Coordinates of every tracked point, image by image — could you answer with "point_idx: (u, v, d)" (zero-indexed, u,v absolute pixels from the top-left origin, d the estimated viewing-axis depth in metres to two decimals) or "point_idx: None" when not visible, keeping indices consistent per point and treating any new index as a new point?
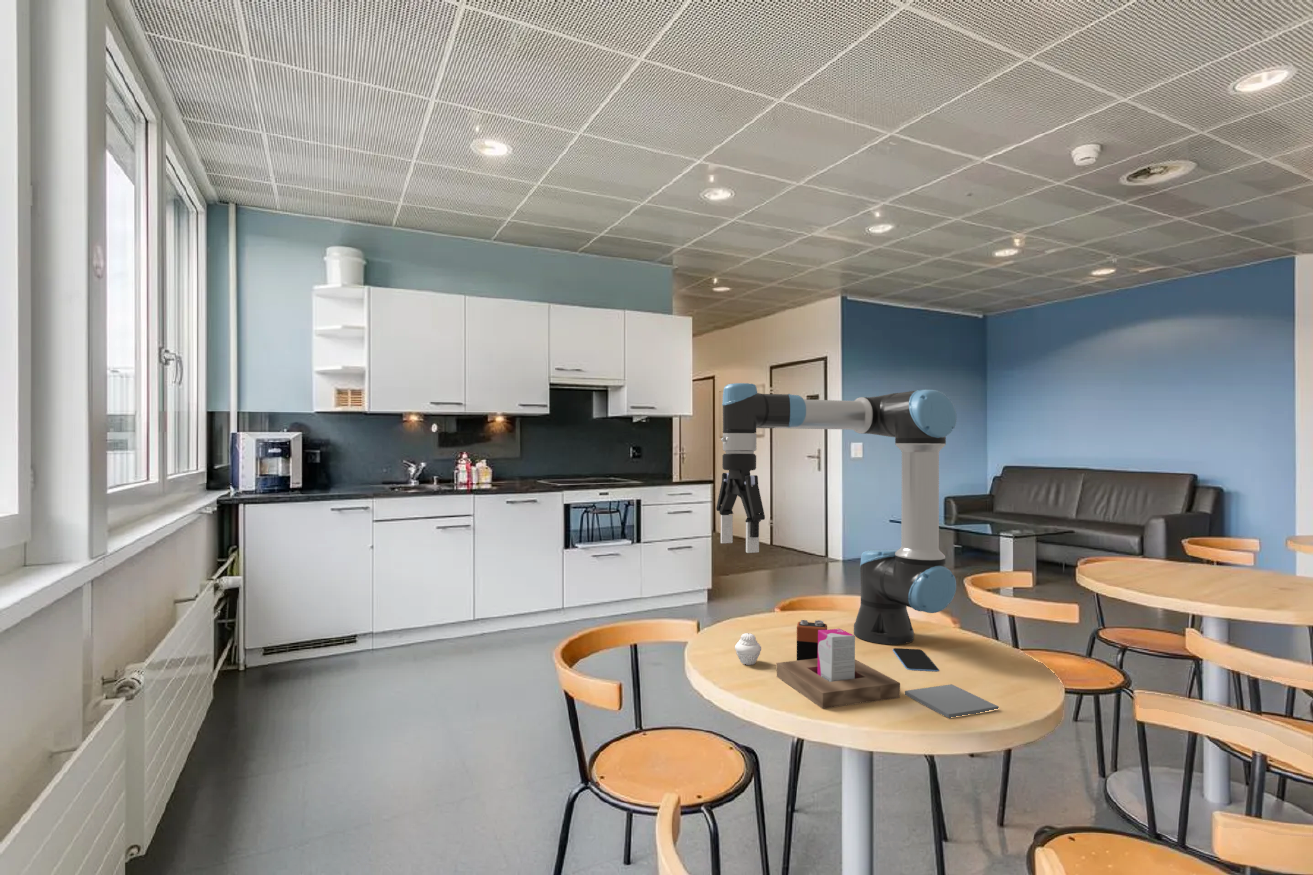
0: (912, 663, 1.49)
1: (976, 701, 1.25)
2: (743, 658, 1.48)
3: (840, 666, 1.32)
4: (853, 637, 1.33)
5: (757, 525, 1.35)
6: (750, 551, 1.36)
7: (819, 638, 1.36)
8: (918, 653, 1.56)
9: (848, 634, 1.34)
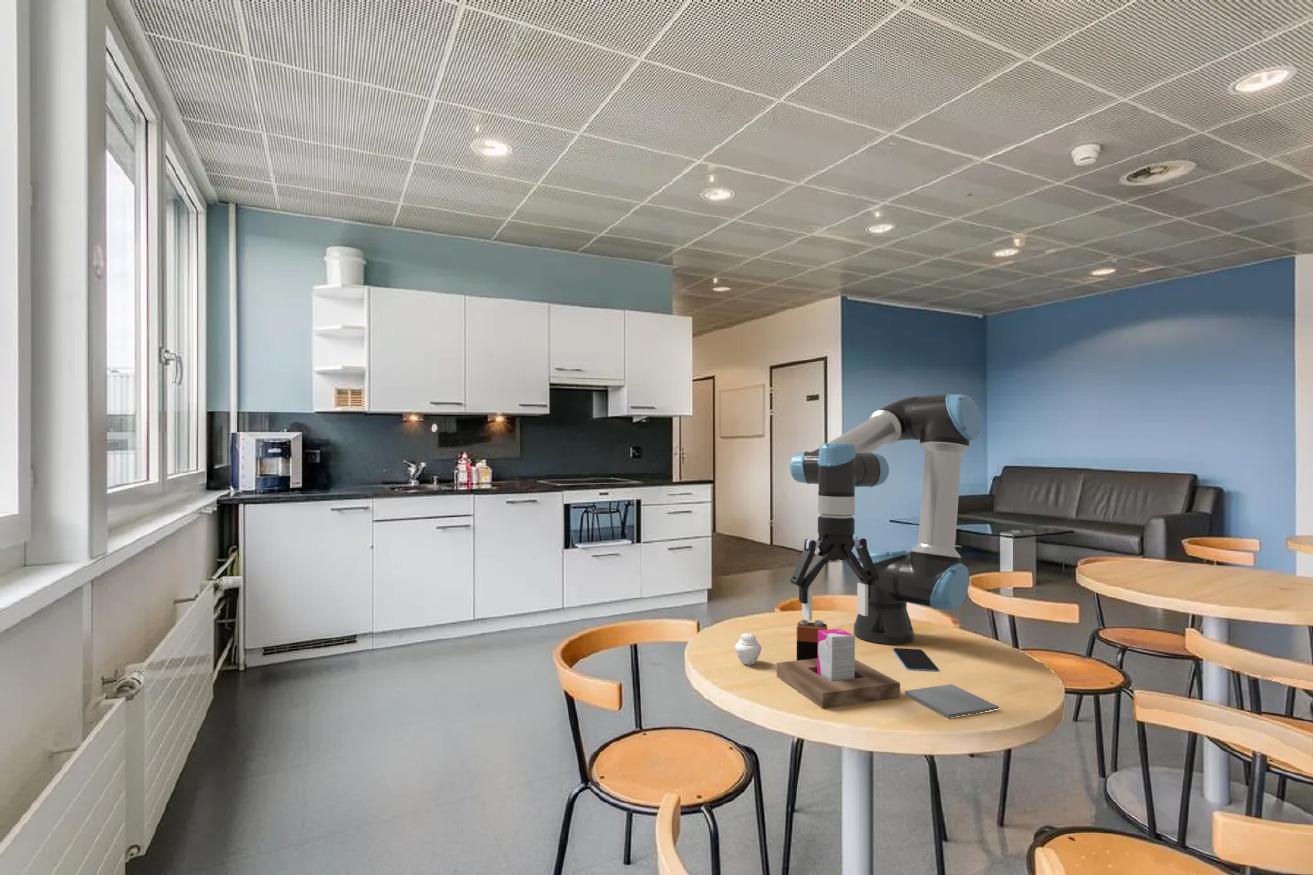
0: (912, 663, 1.49)
1: (976, 701, 1.25)
2: (743, 658, 1.48)
3: (840, 666, 1.32)
4: (853, 637, 1.33)
5: (801, 591, 1.32)
6: (803, 616, 1.33)
7: (819, 638, 1.36)
8: (918, 653, 1.56)
9: (848, 634, 1.34)
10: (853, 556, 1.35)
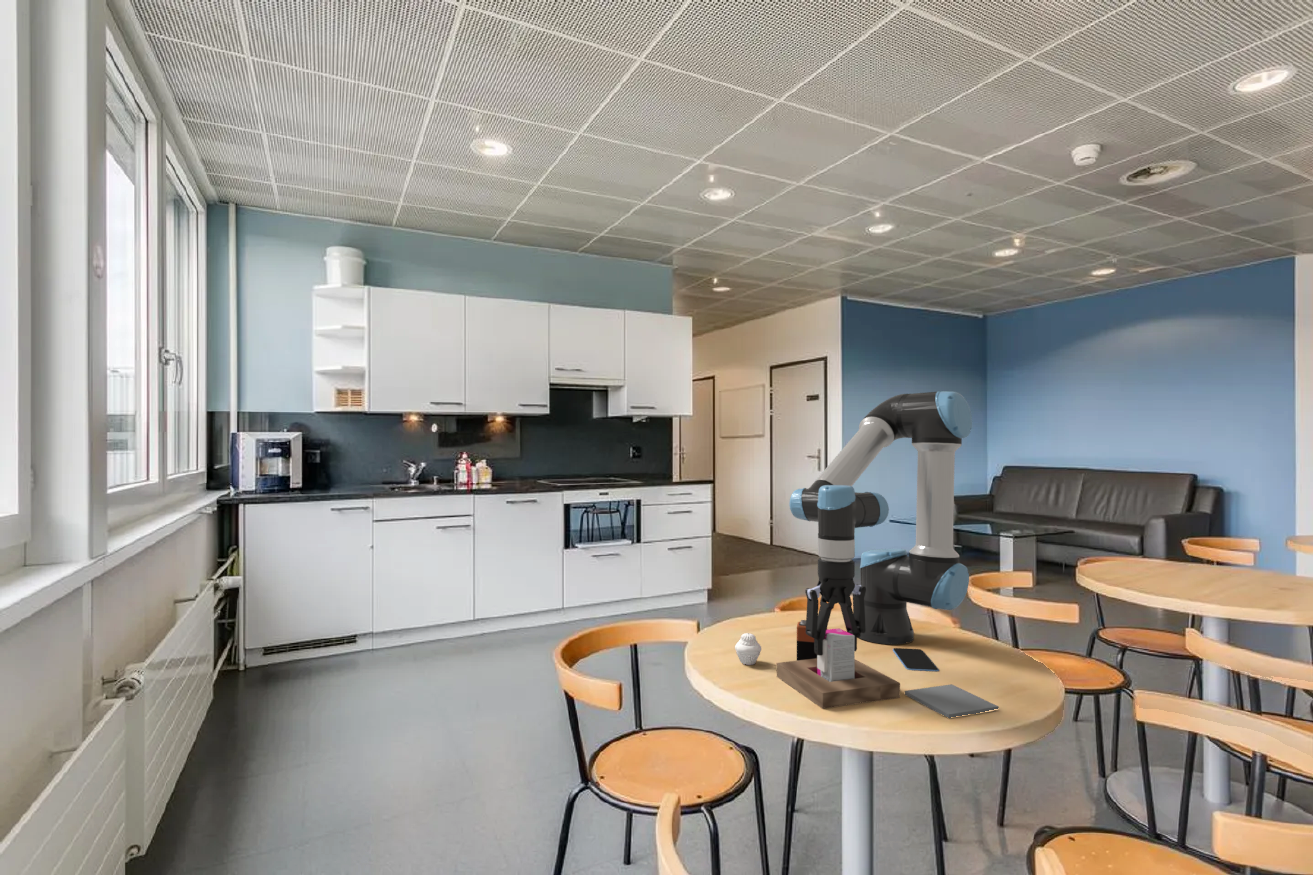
0: (912, 663, 1.49)
1: (976, 701, 1.25)
2: (743, 658, 1.48)
3: (840, 665, 1.32)
4: (853, 636, 1.33)
5: (817, 642, 1.33)
6: (819, 667, 1.34)
7: None
8: (918, 653, 1.56)
9: (848, 634, 1.34)
10: (849, 602, 1.34)
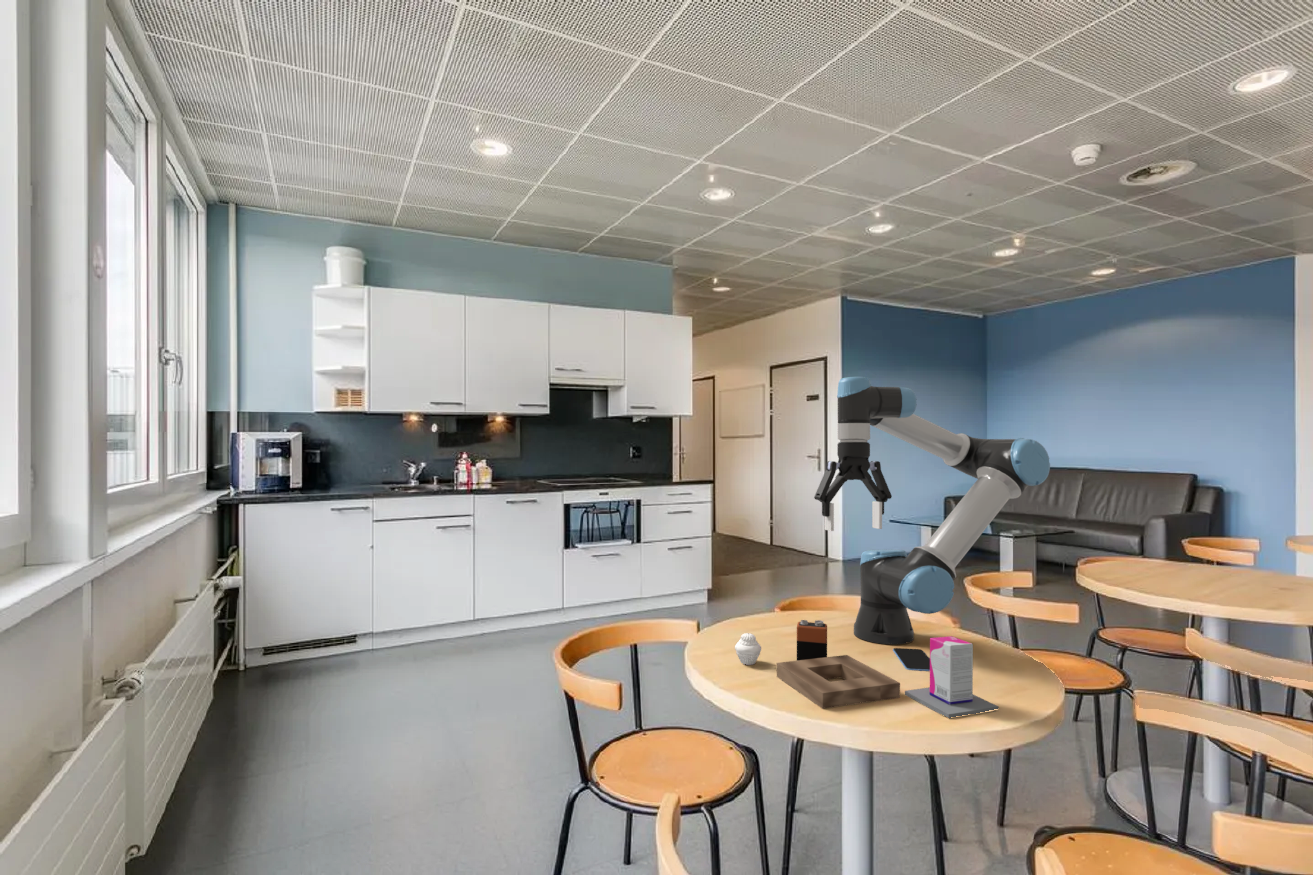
0: (912, 663, 1.49)
1: (976, 701, 1.25)
2: (743, 658, 1.48)
3: (958, 676, 1.24)
4: (971, 645, 1.25)
5: (824, 505, 1.51)
6: (826, 528, 1.53)
7: (932, 646, 1.28)
8: (918, 653, 1.56)
9: (965, 642, 1.26)
10: (869, 476, 1.54)
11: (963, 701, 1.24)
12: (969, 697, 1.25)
